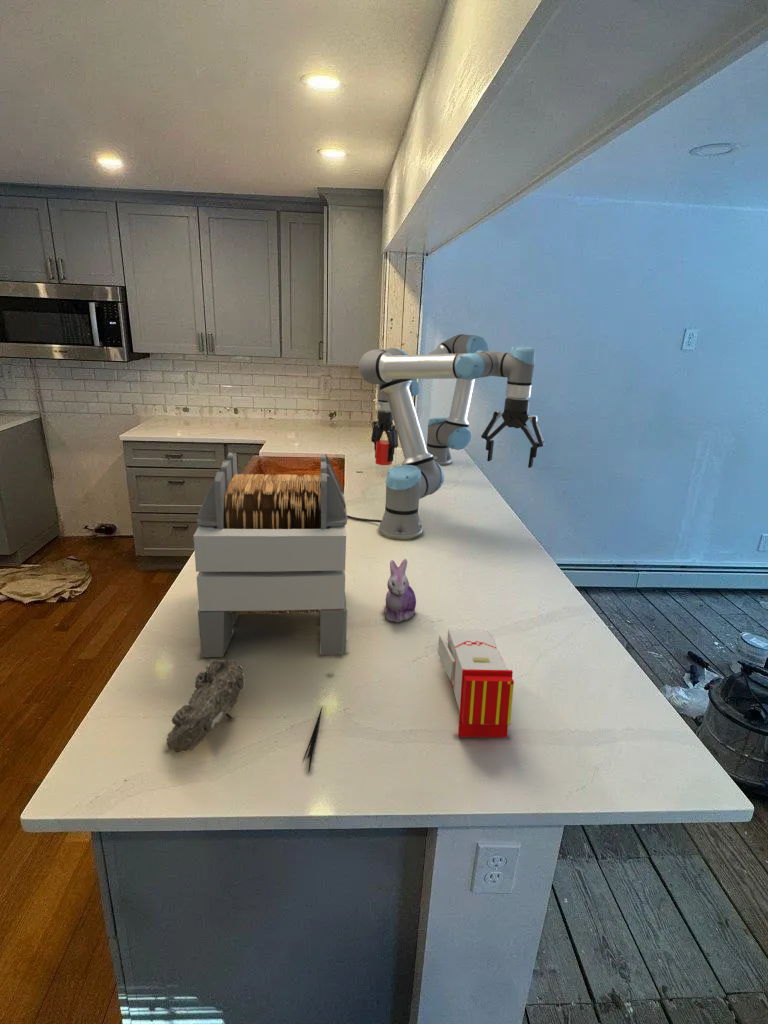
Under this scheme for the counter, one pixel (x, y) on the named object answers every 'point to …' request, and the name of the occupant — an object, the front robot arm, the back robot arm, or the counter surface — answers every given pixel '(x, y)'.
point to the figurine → (399, 594)
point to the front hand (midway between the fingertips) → (509, 463)
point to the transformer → (271, 552)
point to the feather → (313, 740)
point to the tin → (382, 452)
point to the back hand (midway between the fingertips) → (383, 459)
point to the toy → (478, 682)
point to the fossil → (206, 705)
